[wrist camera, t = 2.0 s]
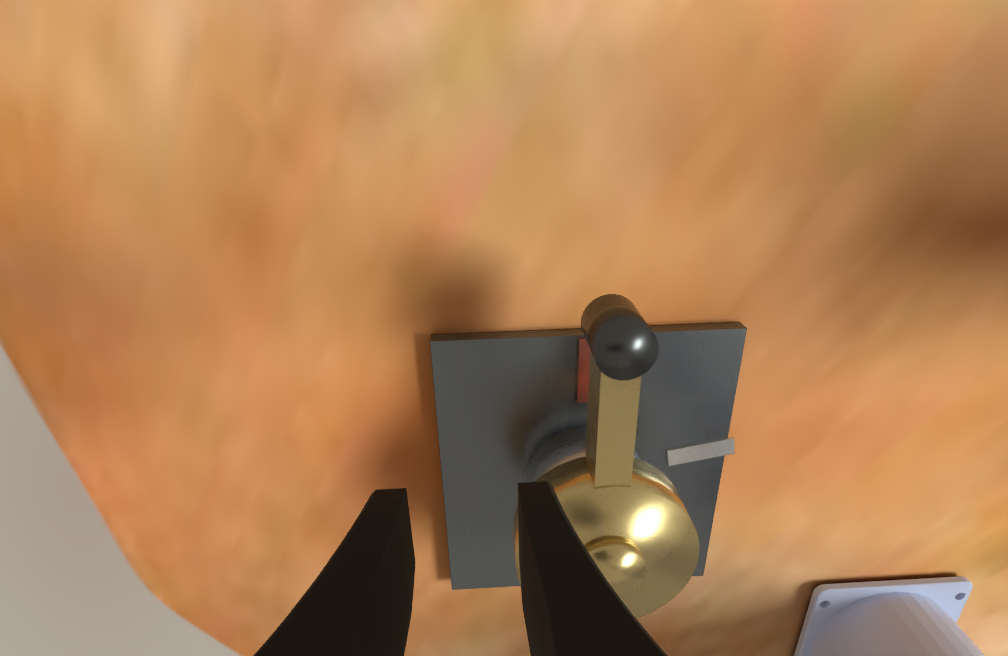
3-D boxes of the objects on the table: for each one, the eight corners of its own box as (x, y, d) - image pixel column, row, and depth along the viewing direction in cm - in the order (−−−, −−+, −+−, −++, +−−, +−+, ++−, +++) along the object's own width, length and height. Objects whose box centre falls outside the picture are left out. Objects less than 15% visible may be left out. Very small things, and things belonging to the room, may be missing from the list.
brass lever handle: (671, 577, 22) (694, 634, 20) (513, 586, 22) (518, 645, 20) (713, 290, 17) (749, 322, 15) (507, 298, 17) (512, 332, 14)
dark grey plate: (705, 565, 27) (734, 624, 24) (452, 579, 26) (449, 641, 23) (749, 321, 21) (792, 359, 18) (431, 334, 21) (424, 375, 18)
